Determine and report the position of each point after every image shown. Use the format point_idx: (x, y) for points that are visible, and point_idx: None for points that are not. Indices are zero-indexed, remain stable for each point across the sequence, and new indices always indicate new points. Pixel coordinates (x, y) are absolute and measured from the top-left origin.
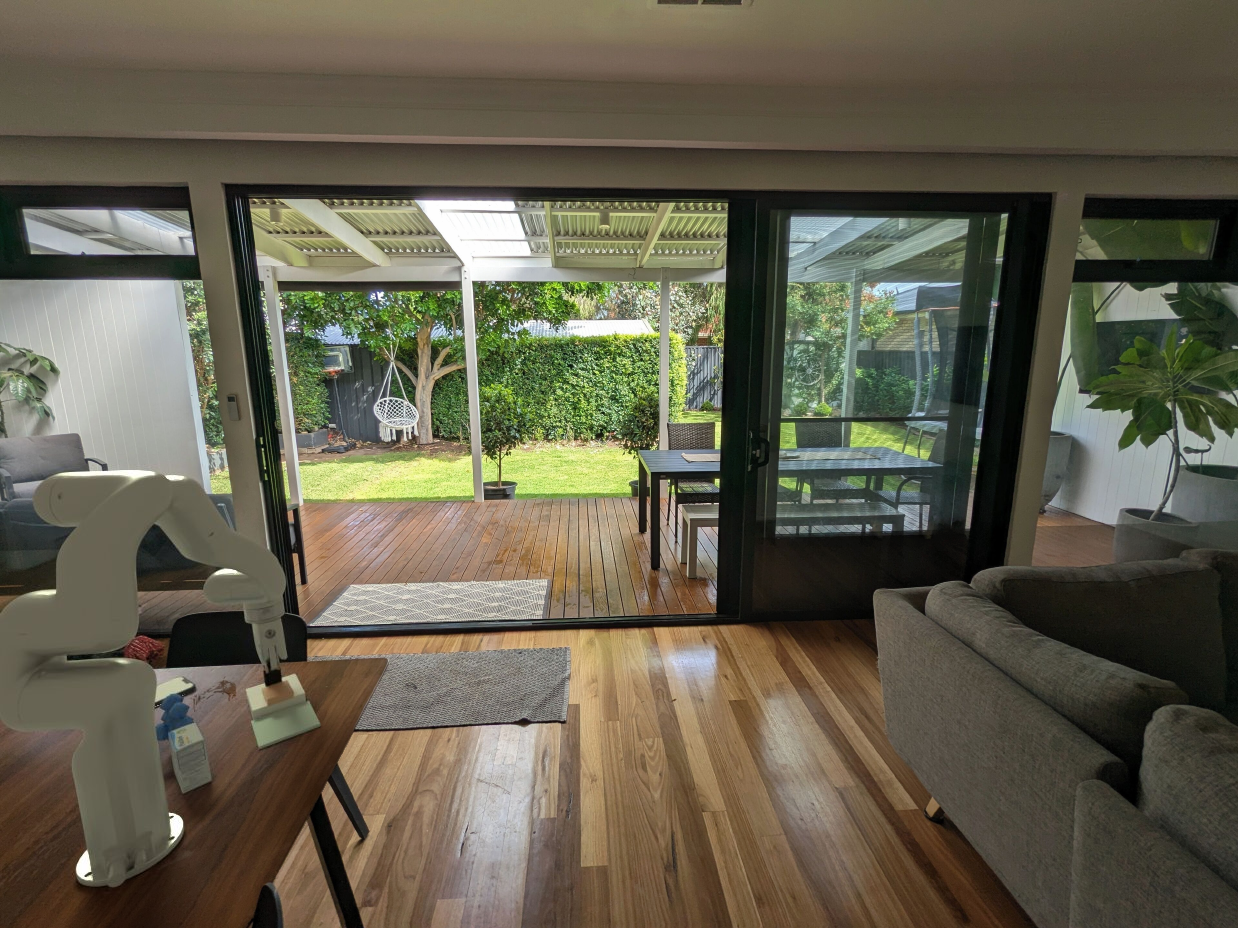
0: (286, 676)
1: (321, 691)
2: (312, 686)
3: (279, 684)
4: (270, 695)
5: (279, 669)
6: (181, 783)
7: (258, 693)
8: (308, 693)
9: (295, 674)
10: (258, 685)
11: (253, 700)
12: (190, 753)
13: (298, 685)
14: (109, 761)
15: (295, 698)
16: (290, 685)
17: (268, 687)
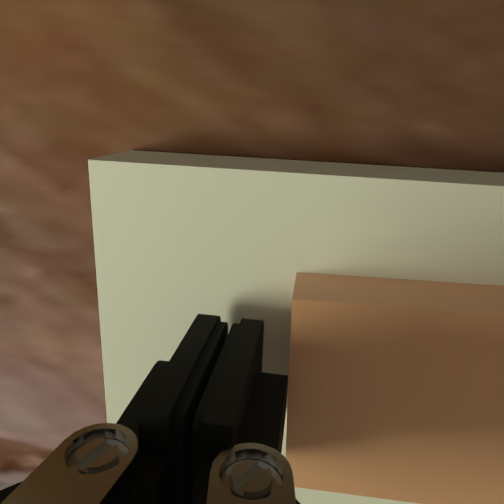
0: (98, 233)
1: (438, 13)
2: (280, 58)
3: (333, 373)
4: (492, 481)
5: (285, 458)
6: None
7: None
8: (377, 117)
9: (108, 162)
10: (114, 418)
11: (325, 497)
12: None
13: (357, 198)
14: None
15: None
16: (299, 252)
17: (311, 447)
